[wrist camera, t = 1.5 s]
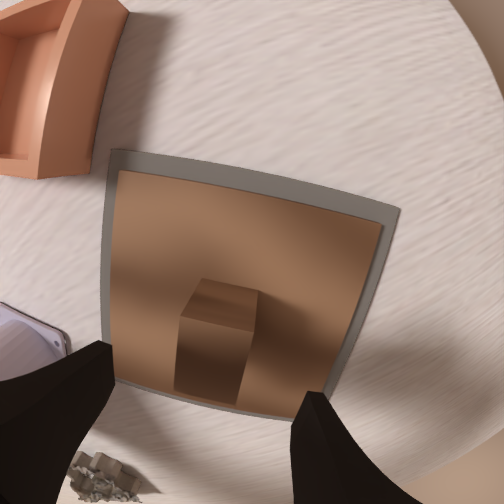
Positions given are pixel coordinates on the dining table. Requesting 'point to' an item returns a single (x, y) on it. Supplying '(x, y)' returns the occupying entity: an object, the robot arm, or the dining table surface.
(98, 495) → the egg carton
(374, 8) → the dining table surface
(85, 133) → the open box
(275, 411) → the lid
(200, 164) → the mat
